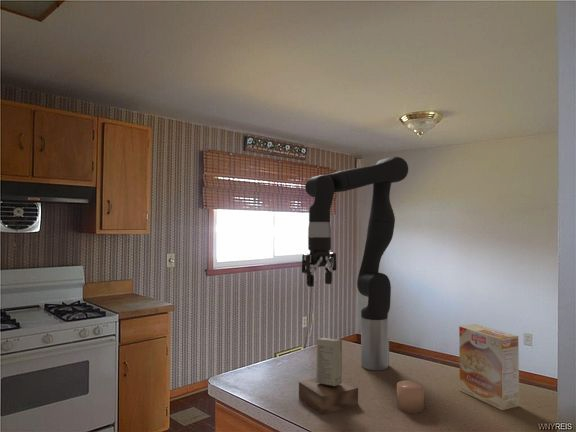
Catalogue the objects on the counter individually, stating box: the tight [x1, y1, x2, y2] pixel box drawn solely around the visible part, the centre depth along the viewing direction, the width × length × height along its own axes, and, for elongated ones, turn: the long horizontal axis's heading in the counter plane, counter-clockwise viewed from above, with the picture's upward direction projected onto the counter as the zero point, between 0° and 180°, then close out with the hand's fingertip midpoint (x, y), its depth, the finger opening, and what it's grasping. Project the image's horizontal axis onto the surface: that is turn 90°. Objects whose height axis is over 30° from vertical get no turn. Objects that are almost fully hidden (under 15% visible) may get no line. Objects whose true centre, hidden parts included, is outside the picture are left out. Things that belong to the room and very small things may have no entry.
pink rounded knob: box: [396, 380, 425, 414], centre depth 113 cm, size 7×7×6 cm
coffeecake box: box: [458, 323, 520, 411], centre depth 119 cm, size 15×7×20 cm, turn 23°
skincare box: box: [315, 337, 343, 386], centre depth 118 cm, size 6×4×12 cm
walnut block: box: [298, 377, 359, 415], centre depth 117 cm, size 12×12×5 cm
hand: (319, 285), depth 136 cm, fingers open, 8 cm apart
